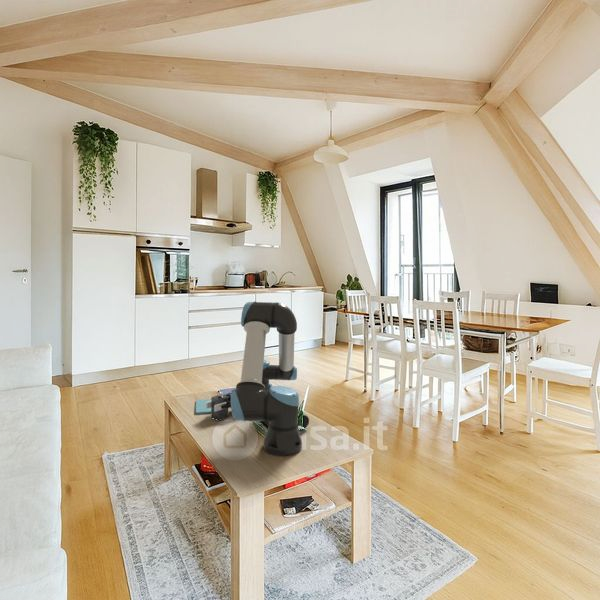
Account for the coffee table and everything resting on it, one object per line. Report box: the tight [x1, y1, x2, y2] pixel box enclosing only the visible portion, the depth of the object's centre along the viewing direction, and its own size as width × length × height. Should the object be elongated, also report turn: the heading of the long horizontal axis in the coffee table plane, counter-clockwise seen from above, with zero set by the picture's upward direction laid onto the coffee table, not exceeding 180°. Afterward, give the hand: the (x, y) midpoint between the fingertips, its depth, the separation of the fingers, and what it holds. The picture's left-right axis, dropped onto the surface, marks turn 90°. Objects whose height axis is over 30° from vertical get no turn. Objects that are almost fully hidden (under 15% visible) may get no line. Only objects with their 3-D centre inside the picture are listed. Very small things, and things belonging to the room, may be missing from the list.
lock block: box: [210, 391, 229, 421], centre depth 173 cm, size 6×5×12 cm
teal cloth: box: [195, 398, 211, 415], centre depth 187 cm, size 18×12×1 cm, turn 15°
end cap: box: [303, 413, 310, 429], centre depth 166 cm, size 10×7×7 cm
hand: (210, 407), depth 169 cm, fingers closed on lock block, 5 cm apart
